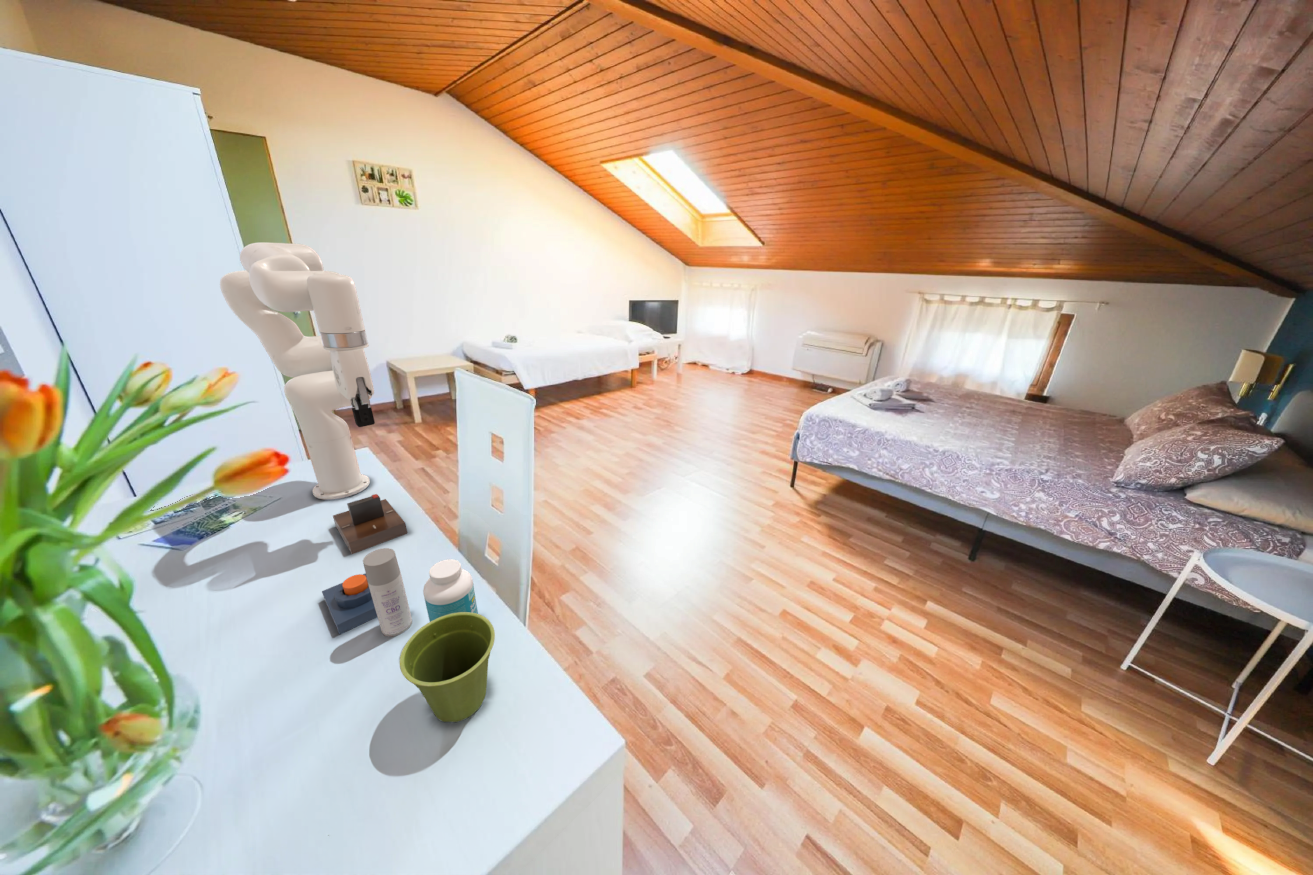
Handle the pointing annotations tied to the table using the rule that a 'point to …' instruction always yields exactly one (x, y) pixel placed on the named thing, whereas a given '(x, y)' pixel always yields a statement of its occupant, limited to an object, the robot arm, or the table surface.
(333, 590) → the button block
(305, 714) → the table surface
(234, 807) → the table surface
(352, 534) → the brown wooden switch base
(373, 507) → the black boxy piece
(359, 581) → the button
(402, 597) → the container
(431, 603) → the pill bottle
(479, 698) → the plant pot
